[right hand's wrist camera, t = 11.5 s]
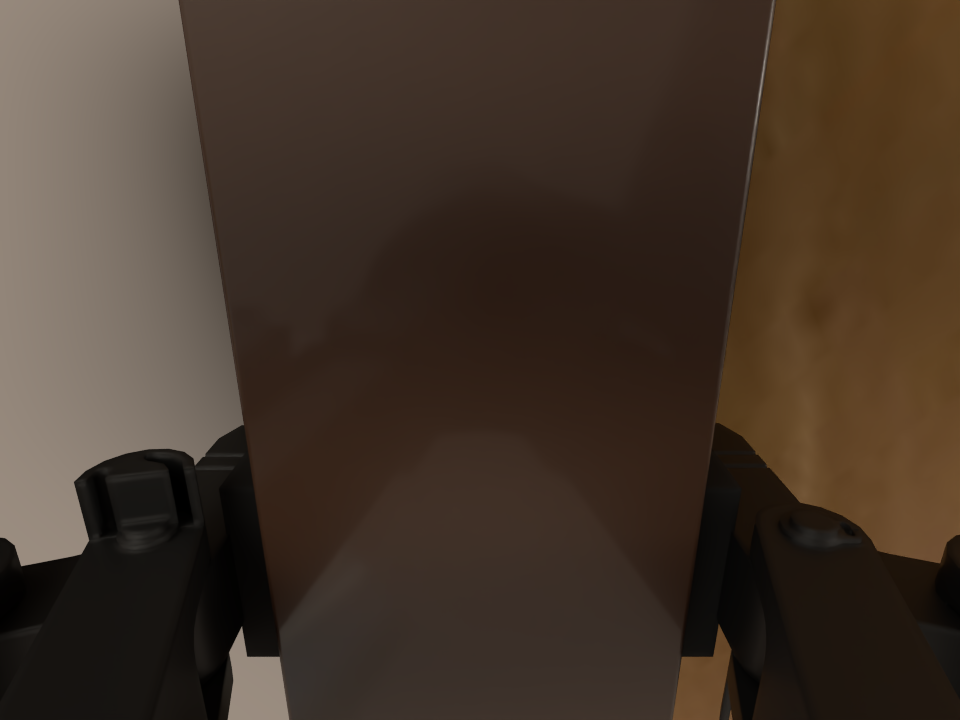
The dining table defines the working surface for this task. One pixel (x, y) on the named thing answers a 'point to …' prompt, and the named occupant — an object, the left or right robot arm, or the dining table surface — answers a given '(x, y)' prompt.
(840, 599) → the right robot arm
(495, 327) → the walnut beam
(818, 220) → the dining table surface
